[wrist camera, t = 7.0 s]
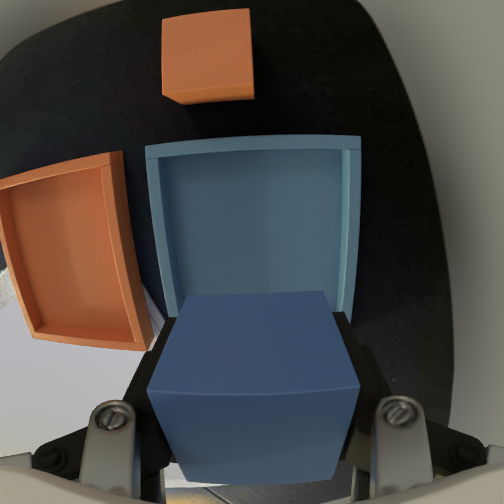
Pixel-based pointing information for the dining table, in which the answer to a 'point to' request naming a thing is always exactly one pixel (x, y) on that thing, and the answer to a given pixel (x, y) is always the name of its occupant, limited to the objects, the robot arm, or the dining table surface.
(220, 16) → the terracotta block
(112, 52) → the dining table surface
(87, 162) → the terracotta tray
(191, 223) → the blue tray
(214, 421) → the blue block
